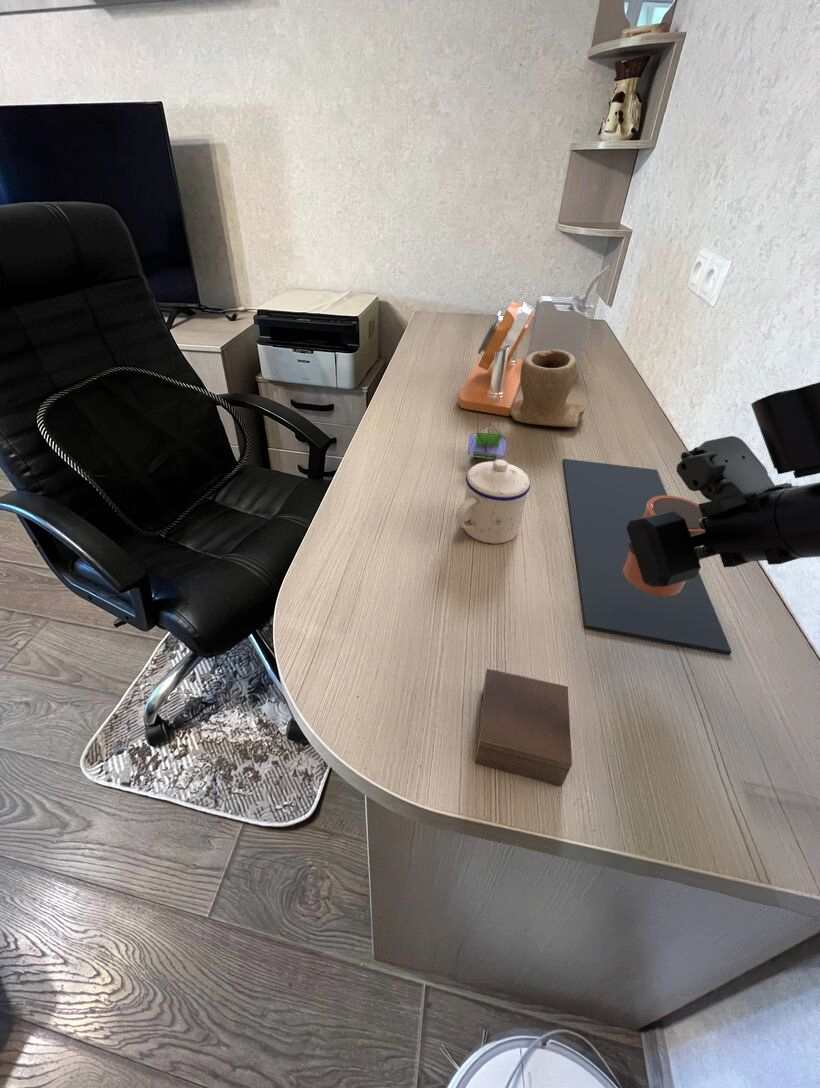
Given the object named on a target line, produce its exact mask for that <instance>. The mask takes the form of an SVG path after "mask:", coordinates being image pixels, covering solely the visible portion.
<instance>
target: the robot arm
mask: <svg viewBox="0 0 820 1088" xmlns="http://www.w3.org/2000/svg"><path fill="white" fill-rule="evenodd" d="M750 406H751V409H752V412H753V415H754V417H755V419H756V422H757V425H758V428H759V431H760V434H761V436H762V438H763V441H764V444H765V447H766V450H767V452H768V455H769V457H770V460H771V463H772V466H773V469H774V470H775V469H776V472H777V475H782V474H786V473H791V472H792V475H793V476H794V479H800V478H804V477H810V476H813V475H818V474H820V381H818V382H814V383H812V384H808V385H805V386H801V387H798V388H793V389H789V390H788V389H787V390H782V391H778V392H775V393H772V394H769V395H766V396H764V397H762V398H759V399H757V400H755V401H753V402H752V403H751V404H750ZM680 459H681V461H680V462H679V463H677V465H676V473H677V475H678V476H679V477H680V479H681V480H682V481H683V483H684V484H685V486H686V487H687V488H688V490H689V491H692V492H698V491H699V492H700V493H701V495H702V496H703V497H704V498H705V499H706V500H709V501H705V502H701V503H697V504H698V505H699V508H700V511H701V514H702V516H703V517H706V518H702V519H699V524H700V527H701V529H702V530H703V529H705V532H701V533H697V534H694V535H690V533H689V530H688V527H687V524H686V521H685V519H684V518H683V517H681V516H680V515H678V514H677V513H676V512H674V511H671V512H665V513H661V514H656V515H652V516H648V517H644V518H640V519H636V520H632V521H629V523H628V526H627V531H628V535H629V538H630V541H631V542H630V543H629V544H628V546H629V549H630V552H631V553H632V554H634V555H635V557H636V560H637V563H638V566H639V570H640V573H641V576H642V579H643V582H644V583H645V584H647V585H648V586H650V587H663V586H669V585H673V584H676V583H679V582H683V581H686V580H689V579H693V578H696V576H697V574H698V572H699V573H700V570H701V568H702V567H701V566H702V565H701V563H700V561H701V560H704V559H707V558H710V557H714V556H718V555H719V557H720V560H721V563H722V566H723V568H735V567H738V566H741V565H744V564H748V563H750V562H763V561H767V564H768V565H769V566H771V565H782V564H785V563H789V562H792V561H796V560H798V559H807V558H820V481H818V482H814V483H809V484H804V485H798V484H797V485H793V484H792V482H790V483H788V482H784V483H779V484H775V483H774V481H773V480H772V479H771V477H770V476H769V473H768V470H767V468H766V467H765V466H764V464H763V463H762V462H761V460H759V458H758V457H757V456H756V455H755V453H754V451H752V450H751V448H750V446H748V445H747V443H746V442H745V441H744V440H743V439H742V438H739V437H738V436H735V435H730V436H724V437H719V438H714V439H710V440H705V441H704V442H703V443H701V444H700V445H699V446H696V447H694V448H693V449H692V450H688V451H683V452H681V454H680ZM702 545H704V546H703V547H700V548H696V549H695V547H698V546H702Z"/></svg>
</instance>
